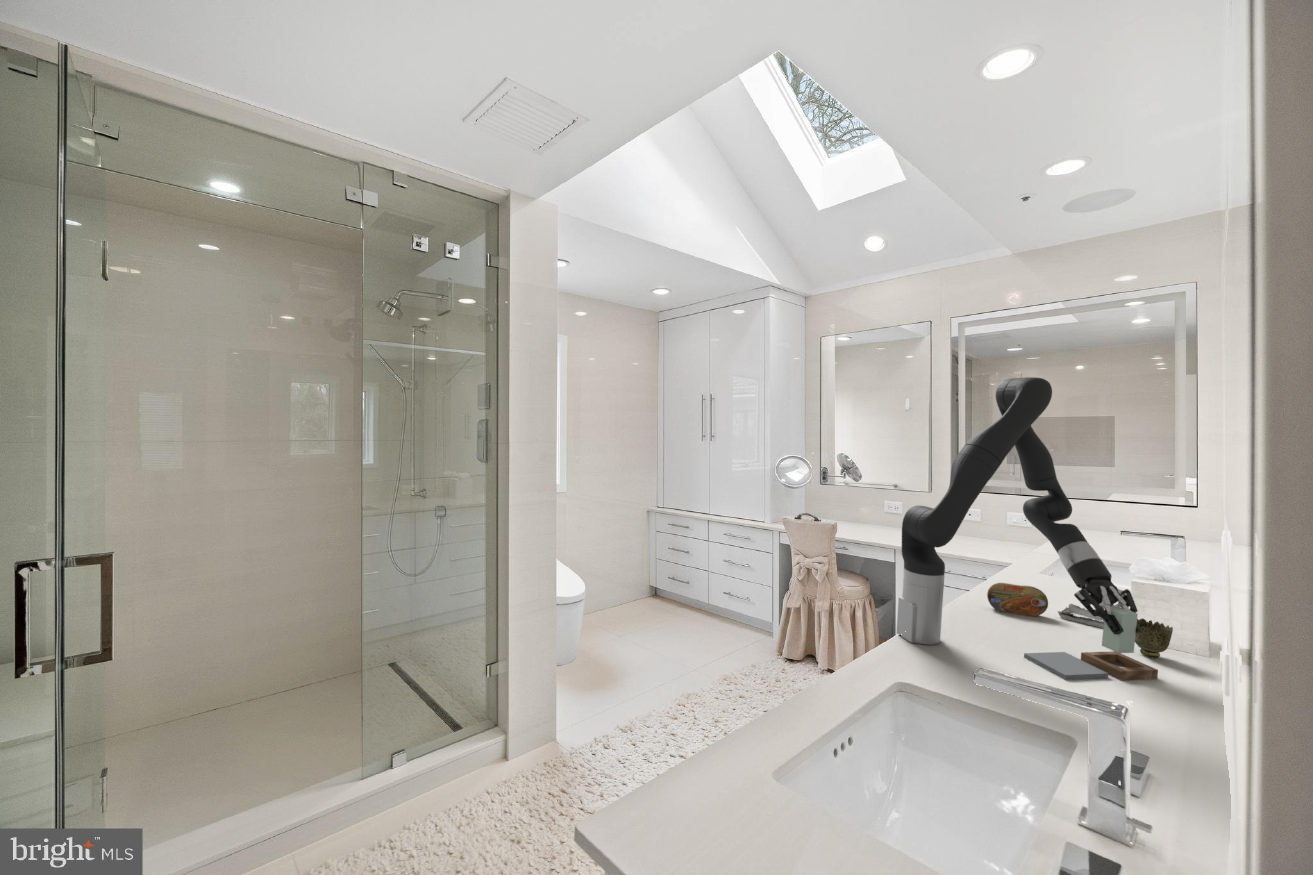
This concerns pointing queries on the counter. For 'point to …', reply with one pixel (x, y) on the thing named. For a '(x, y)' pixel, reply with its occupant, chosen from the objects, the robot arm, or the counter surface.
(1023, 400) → the robot arm
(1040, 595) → the tin
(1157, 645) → the cup
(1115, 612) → the sage block
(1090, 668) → the slate coaster
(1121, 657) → the walnut pocket
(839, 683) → the counter surface
